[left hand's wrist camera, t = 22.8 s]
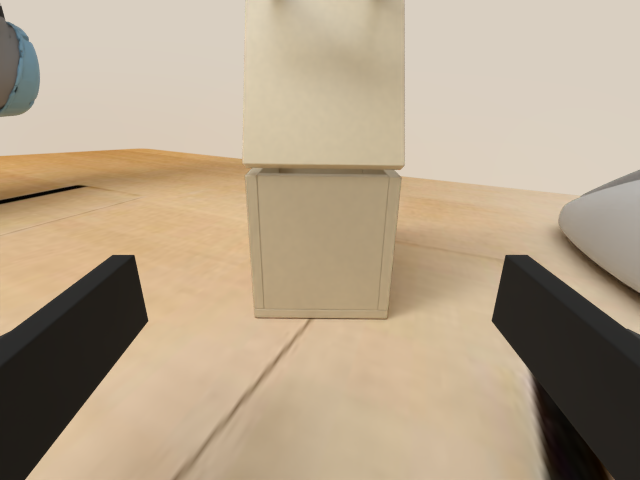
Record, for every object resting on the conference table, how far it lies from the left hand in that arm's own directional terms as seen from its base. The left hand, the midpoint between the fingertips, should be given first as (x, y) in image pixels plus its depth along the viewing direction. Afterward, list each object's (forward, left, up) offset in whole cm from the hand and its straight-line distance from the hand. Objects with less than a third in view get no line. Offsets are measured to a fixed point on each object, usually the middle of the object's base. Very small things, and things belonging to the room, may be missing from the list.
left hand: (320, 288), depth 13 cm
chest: (+13, -8, -8) cm, 17 cm away
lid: (+11, -6, +9) cm, 15 cm away
